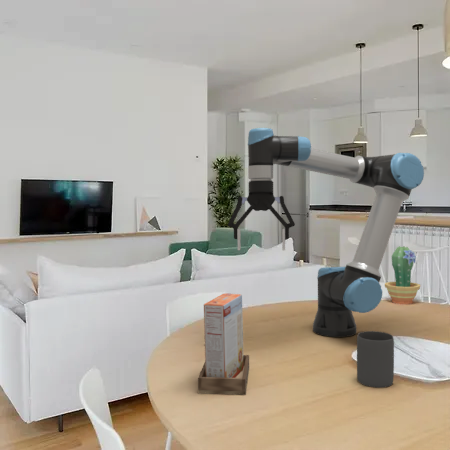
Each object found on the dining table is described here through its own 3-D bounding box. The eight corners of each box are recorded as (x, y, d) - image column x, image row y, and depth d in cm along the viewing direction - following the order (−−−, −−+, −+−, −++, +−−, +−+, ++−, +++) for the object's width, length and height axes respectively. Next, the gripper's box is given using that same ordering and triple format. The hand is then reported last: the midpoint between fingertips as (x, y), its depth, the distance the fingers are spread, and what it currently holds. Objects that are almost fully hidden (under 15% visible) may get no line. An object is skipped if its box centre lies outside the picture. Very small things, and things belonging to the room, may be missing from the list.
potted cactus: (387, 305, 217) (387, 248, 215) (381, 298, 232) (382, 244, 230) (424, 306, 214) (425, 248, 213) (416, 298, 229) (417, 244, 228)
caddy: (249, 368, 139) (249, 354, 139) (245, 394, 121) (245, 379, 120) (208, 367, 140) (208, 354, 140) (198, 393, 122) (198, 378, 122)
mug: (395, 389, 123) (396, 341, 122) (357, 386, 125) (357, 339, 124) (389, 370, 136) (390, 327, 136) (355, 368, 138) (355, 325, 138)
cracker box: (223, 366, 138) (223, 292, 137) (244, 369, 136) (243, 293, 135) (203, 384, 125) (202, 302, 124) (226, 388, 123) (225, 304, 122)
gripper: (301, 180, 153) (301, 248, 154) (221, 181, 155) (222, 248, 157) (303, 179, 145) (303, 251, 147) (218, 180, 148) (219, 251, 149)
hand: (261, 250), depth 152 cm, fingers open, 13 cm apart
